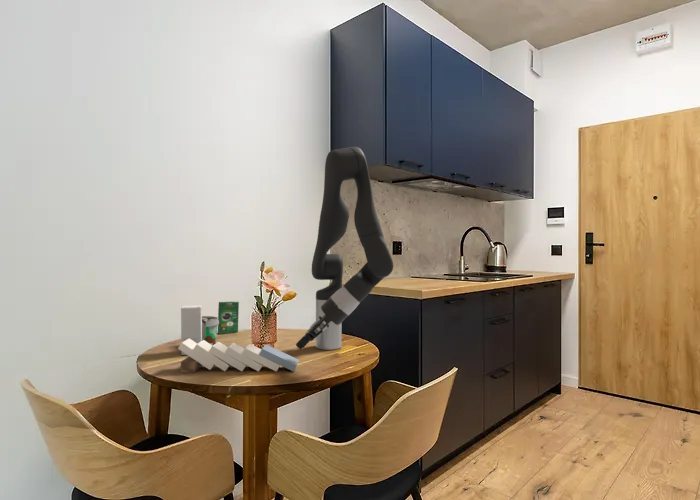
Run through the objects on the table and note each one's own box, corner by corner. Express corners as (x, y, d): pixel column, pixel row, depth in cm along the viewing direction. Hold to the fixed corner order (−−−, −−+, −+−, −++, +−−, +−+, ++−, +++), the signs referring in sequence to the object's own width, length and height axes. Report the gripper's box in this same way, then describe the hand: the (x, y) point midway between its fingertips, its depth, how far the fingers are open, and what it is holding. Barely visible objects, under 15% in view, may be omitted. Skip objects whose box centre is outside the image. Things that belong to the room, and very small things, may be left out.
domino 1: (220, 358, 129) (189, 338, 129) (213, 364, 123) (181, 342, 123) (216, 364, 129) (185, 343, 129) (210, 370, 123) (177, 348, 123)
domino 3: (250, 360, 129) (218, 341, 129) (245, 365, 123) (212, 345, 123) (246, 366, 129) (215, 347, 129) (242, 371, 123) (208, 352, 123)
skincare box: (201, 354, 143) (201, 307, 143) (179, 355, 141) (180, 308, 141) (202, 349, 151) (202, 304, 151) (182, 350, 149) (182, 304, 149)
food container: (223, 347, 153) (224, 319, 153) (206, 349, 150) (206, 320, 150) (213, 341, 163) (213, 315, 163) (196, 343, 160) (196, 316, 160)
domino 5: (282, 360, 129) (249, 343, 129) (279, 365, 123) (244, 348, 123) (279, 366, 129) (246, 349, 129) (276, 371, 123) (241, 354, 123)
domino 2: (234, 360, 129) (203, 339, 129) (229, 365, 123) (196, 344, 123) (230, 365, 129) (199, 345, 129) (225, 371, 123) (192, 349, 123)
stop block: (204, 364, 130) (204, 354, 130) (195, 372, 122) (195, 361, 122) (190, 364, 130) (191, 354, 130) (180, 372, 122) (180, 361, 122)
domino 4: (266, 360, 129) (233, 342, 129) (262, 365, 123) (228, 347, 123) (262, 366, 129) (230, 348, 129) (258, 371, 123) (224, 353, 123)
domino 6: (299, 360, 129) (266, 344, 129) (296, 365, 123) (262, 348, 123) (296, 366, 129) (263, 350, 129) (293, 371, 123) (258, 355, 123)
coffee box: (236, 331, 184) (236, 300, 184) (238, 332, 181) (239, 301, 181) (217, 333, 179) (217, 301, 179) (219, 334, 177) (219, 302, 177)
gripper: (332, 293, 133) (291, 333, 133) (330, 298, 120) (285, 342, 120) (349, 311, 133) (309, 350, 133) (349, 317, 120) (305, 362, 120)
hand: (298, 346), depth 126 cm, fingers closed
